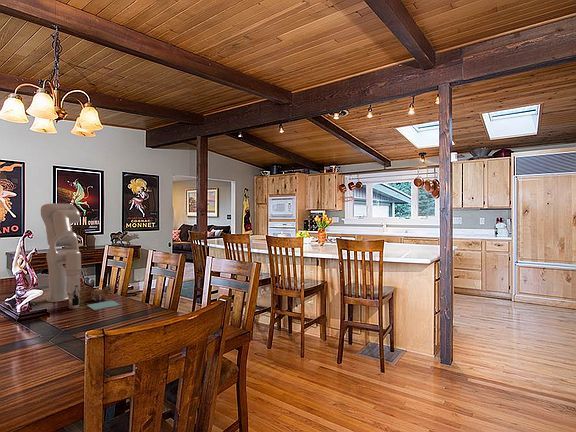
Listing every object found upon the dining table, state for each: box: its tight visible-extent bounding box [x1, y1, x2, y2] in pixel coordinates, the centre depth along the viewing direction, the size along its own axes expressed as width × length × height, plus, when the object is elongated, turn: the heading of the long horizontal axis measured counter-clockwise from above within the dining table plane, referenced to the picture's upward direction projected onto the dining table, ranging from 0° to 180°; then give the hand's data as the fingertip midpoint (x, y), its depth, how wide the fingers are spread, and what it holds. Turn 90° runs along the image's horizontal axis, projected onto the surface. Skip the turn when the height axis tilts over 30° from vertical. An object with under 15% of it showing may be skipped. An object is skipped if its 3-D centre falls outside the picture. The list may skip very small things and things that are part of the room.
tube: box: [68, 290, 80, 310], centre depth 199 cm, size 5×5×10 cm
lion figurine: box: [87, 284, 114, 301], centre depth 215 cm, size 15×5×9 cm, turn 104°
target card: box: [86, 300, 121, 311], centre depth 203 cm, size 14×14×1 cm
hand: (74, 304), depth 199 cm, fingers closed on tube, 4 cm apart
